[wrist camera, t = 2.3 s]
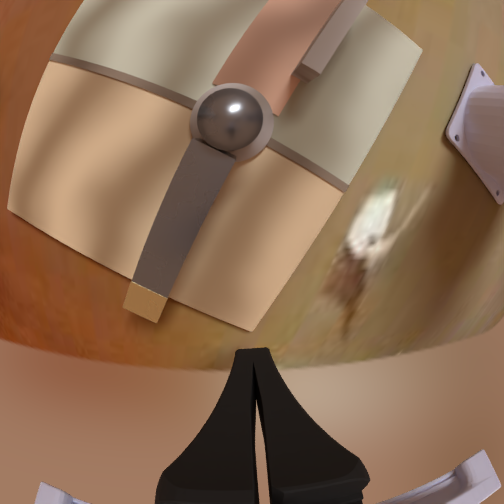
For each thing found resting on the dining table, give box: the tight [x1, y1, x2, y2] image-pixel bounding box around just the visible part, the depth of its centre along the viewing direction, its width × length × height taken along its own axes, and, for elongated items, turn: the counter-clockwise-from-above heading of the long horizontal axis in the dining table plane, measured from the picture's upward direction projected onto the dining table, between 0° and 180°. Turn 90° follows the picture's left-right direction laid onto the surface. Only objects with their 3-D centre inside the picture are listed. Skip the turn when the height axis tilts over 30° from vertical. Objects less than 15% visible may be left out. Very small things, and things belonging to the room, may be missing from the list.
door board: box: [7, 0, 423, 332], centre depth 12 cm, size 21×23×3 cm
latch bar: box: [123, 88, 263, 323], centre depth 14 cm, size 13×3×3 cm, turn 151°
